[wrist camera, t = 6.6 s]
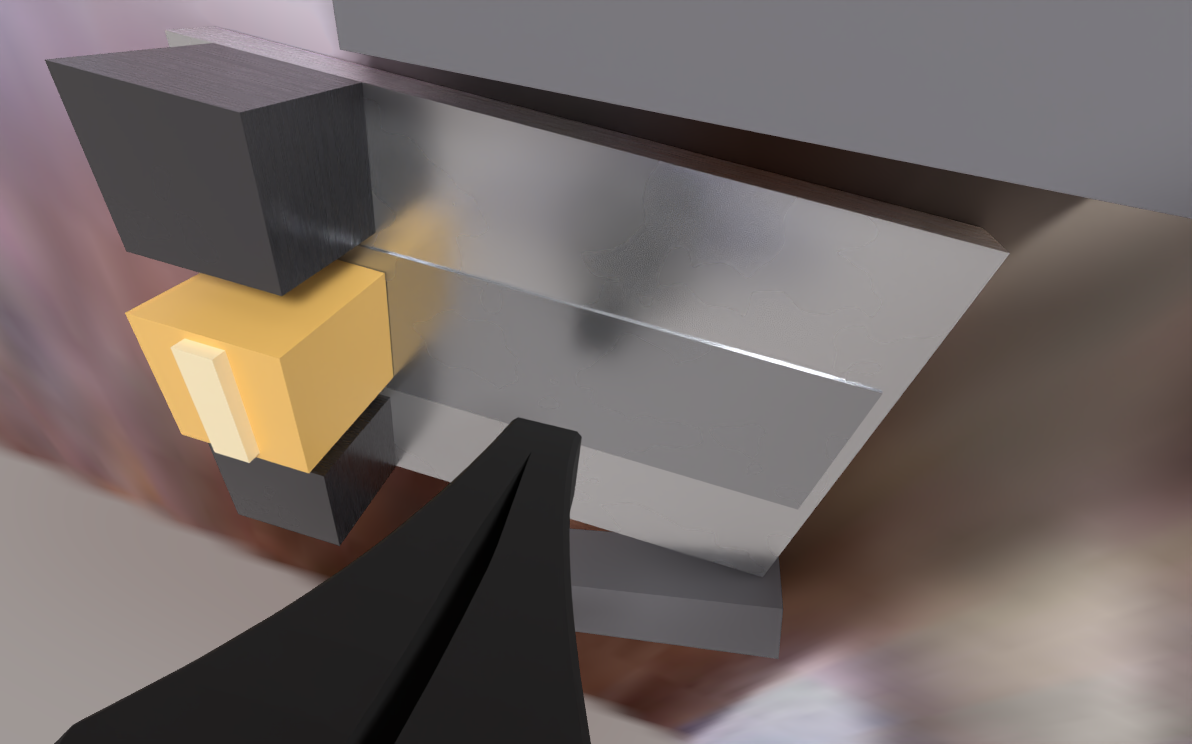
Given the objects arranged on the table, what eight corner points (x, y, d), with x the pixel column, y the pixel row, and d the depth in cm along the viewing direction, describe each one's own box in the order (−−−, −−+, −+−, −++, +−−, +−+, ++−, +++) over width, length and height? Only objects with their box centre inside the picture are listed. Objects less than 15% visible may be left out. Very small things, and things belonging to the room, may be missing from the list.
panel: (982, 228, 10) (1110, 349, 6) (761, 543, 17) (767, 680, 13) (214, 26, 11) (-19, 42, 7) (304, 406, 17) (205, 503, 14)
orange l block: (384, 273, 12) (267, 368, 9) (393, 377, 14) (299, 483, 11) (264, 238, 12) (108, 321, 9) (290, 346, 14) (170, 443, 11)
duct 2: (777, 536, 17) (782, 609, 15) (773, 588, 19) (778, 658, 17) (430, 510, 20) (398, 566, 18) (454, 555, 22) (427, 611, 20)
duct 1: (1280, -47, 7) (1546, -68, 5) (1118, 168, 9) (1252, 230, 7) (419, -183, 8) (295, -252, 6) (430, 36, 10) (339, 49, 8)
